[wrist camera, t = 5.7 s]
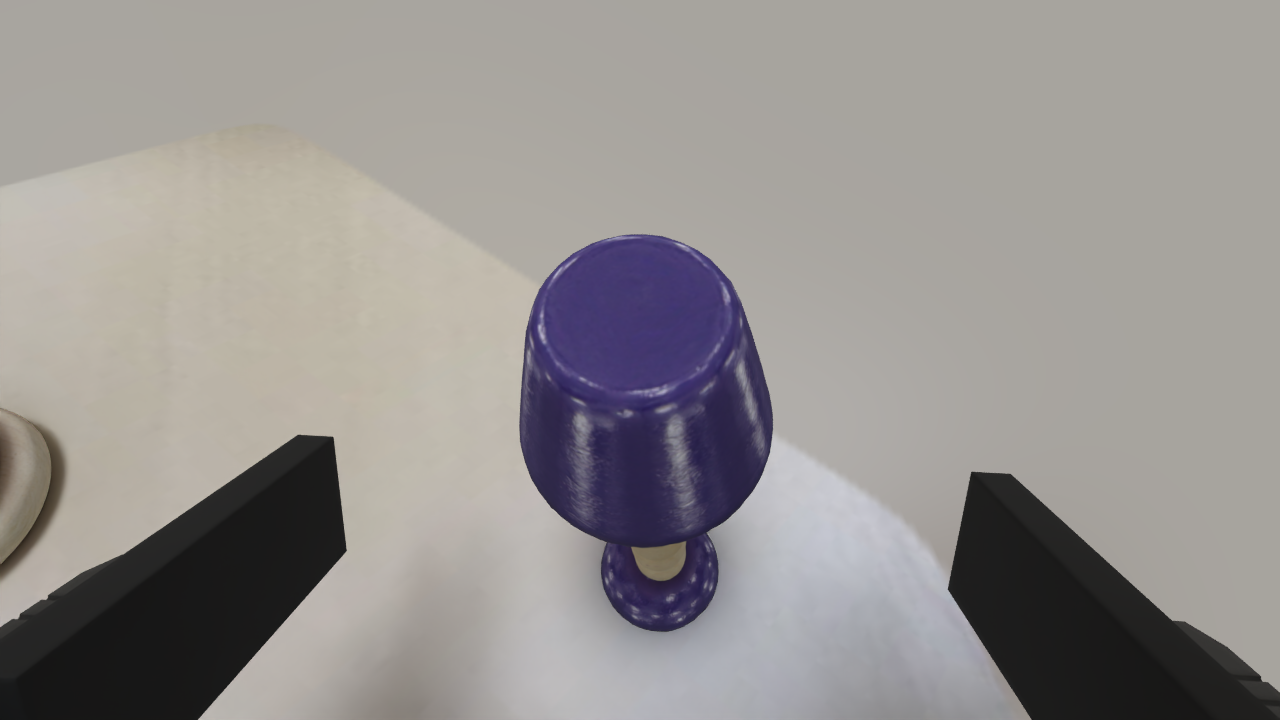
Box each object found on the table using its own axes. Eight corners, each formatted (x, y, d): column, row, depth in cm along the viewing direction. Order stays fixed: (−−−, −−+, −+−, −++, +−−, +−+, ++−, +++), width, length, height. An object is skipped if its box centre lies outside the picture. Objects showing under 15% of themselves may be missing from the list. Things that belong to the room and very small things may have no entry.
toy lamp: (570, 605, 22) (406, 420, 8) (611, 482, 25) (542, 156, 10) (702, 647, 22) (794, 532, 7) (732, 518, 24) (852, 220, 9)
